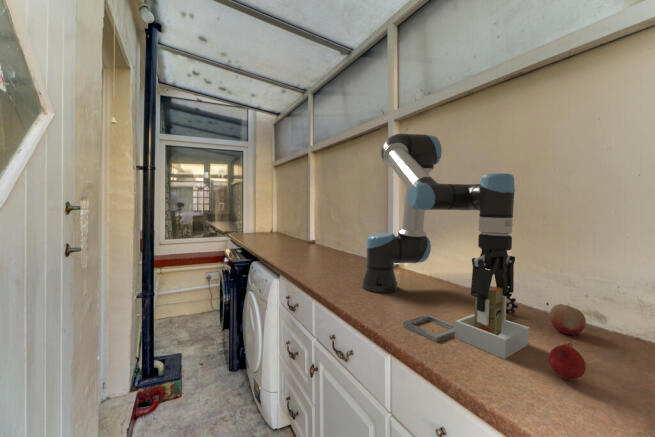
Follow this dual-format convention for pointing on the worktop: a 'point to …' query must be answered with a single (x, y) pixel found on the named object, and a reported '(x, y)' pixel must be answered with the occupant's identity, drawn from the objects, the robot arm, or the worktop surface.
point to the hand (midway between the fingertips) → (491, 321)
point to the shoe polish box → (492, 311)
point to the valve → (512, 305)
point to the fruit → (567, 319)
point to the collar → (436, 338)
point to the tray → (493, 337)
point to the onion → (567, 362)
